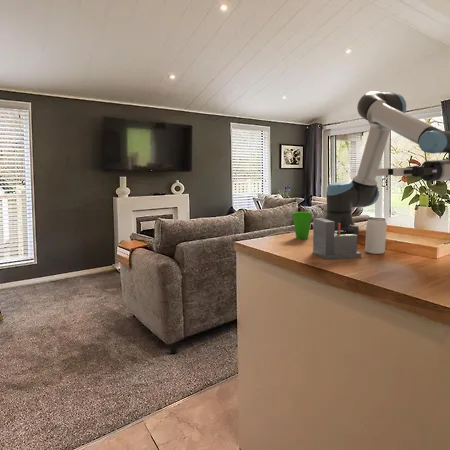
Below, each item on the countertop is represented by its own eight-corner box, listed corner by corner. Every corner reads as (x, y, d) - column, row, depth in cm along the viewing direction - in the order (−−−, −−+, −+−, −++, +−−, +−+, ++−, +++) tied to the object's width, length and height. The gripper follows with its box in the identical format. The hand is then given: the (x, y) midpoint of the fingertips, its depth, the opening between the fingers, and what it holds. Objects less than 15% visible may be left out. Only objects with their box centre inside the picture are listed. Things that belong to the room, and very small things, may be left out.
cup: (290, 236, 159) (290, 212, 157) (310, 235, 159) (310, 211, 157) (293, 240, 150) (293, 214, 148) (314, 239, 150) (314, 214, 148)
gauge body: (345, 250, 128) (346, 216, 126) (361, 257, 117) (362, 220, 116) (312, 252, 126) (313, 218, 125) (325, 259, 116) (326, 222, 114)
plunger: (351, 243, 125) (351, 220, 124) (359, 247, 119) (360, 222, 118) (327, 245, 124) (327, 221, 122) (334, 248, 118) (335, 223, 117)
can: (388, 252, 123) (390, 218, 121) (377, 255, 120) (380, 220, 118) (371, 249, 129) (373, 216, 127) (361, 251, 125) (363, 218, 123)
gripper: (462, 181, 116) (404, 183, 114) (412, 180, 141) (363, 182, 138) (464, 158, 115) (405, 160, 112) (413, 161, 140) (363, 162, 137)
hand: (382, 172), depth 125 cm, fingers open, 13 cm apart
